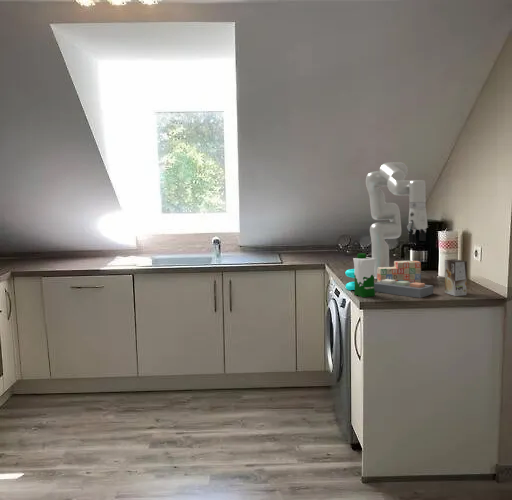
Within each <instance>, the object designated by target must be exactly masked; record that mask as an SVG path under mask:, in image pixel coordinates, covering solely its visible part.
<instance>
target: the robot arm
mask: <svg viewBox="0 0 512 500" xmlns="http://www.w3.org/2000/svg"><path fill="white" fill-rule="evenodd" d="M408 170H409V169H408V166H407V164H405V163H404V162H402V161H399V162H398V161H397V162H396V161H395V162H393V161H391V162H390V161H389V162H384V163H383V164H381V166H380V167H379V170H377V171H371V172H369V173H367V175H366V178H365V186H366V190H367V193H368V197H369V205H370V206H369V207H370V215H371V219H373V220H375V221H378V222H374V223H372V224H371V225H370V227H369V235H370V241H371V258H374V259H376V260H375V265H374V280H377V268H378V267H390V247H389V244H388V243H387V242H386V240H392V239H393V240H394V239H398V238H400V237H401V236H402V222H401V221H402V219H401V212H400V207H399V205H398V204H397V203H395V202H386V194H385V192H384V191H383V190H382V189H381V188H380V187H387V189H388V190H389V192H390V193H391V194H393V195H394V196H398V197H399V196H408V197H409V198H408V201H409V202H408V204H409V205H408V207H409V212H408V223H407V225H406V228H407V232H408V242H409V243H413V244H414V243H416V237H417V236H416V231H417V230H418V231H419V233H418V239H419V242H426V241H427V236H426V235H427V229H428V213H427V208H426V203H427V202H426V197H427V196H426V190H427V189H426V186H427V185H426V181H425V180H424V179H409V180H408V179H406V177H407V176H408V172H409V171H408ZM405 179H406V180H405ZM383 220H384V221H383ZM386 220H387V221H386ZM388 220H389V221H388Z"/></svg>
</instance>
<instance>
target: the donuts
mask: <svg viewBox="0 0 512 500" xmlns="http://www.w3.org/2000/svg"><path fill="white" fill-rule="evenodd" d="M345 276H346V277H348V278H351V279H355V269H354V268H351V269H346V271H345ZM345 289H346V290H347V291H351V290H355V281H350V282H348V283H346V284H345Z"/></svg>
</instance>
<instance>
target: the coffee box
mask: <svg viewBox="0 0 512 500" xmlns="http://www.w3.org/2000/svg"><path fill="white" fill-rule="evenodd" d="M467 266H468V262H467V261H466V260H461V259H457V258H456V259H455V258H454V259H444V293H445V294H448V295H451V296H453V297H454V296H455V297H460V296H461V297H462V296H467V281H468V280H467V279H468V278H467V277H468V276H467V274H468V273H467V272H468V267H467Z"/></svg>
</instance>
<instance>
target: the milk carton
mask: <svg viewBox="0 0 512 500" xmlns="http://www.w3.org/2000/svg"><path fill="white" fill-rule="evenodd" d="M352 259H353V269H355V278H354V282H355V291H353V292H354V294H353V295H354V296H356V295H358V296H357V297H360V296H361V297H360V298H369V297H376V292H375V289H374V283H375V279H374V265H375V260H376V259H374V258H372V257H367V253H366V252H365V253H363V252H362V253H361V252H360V253H359V252H358V253H357V254H356V257H355V258H354V257H353V258H352Z"/></svg>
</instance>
